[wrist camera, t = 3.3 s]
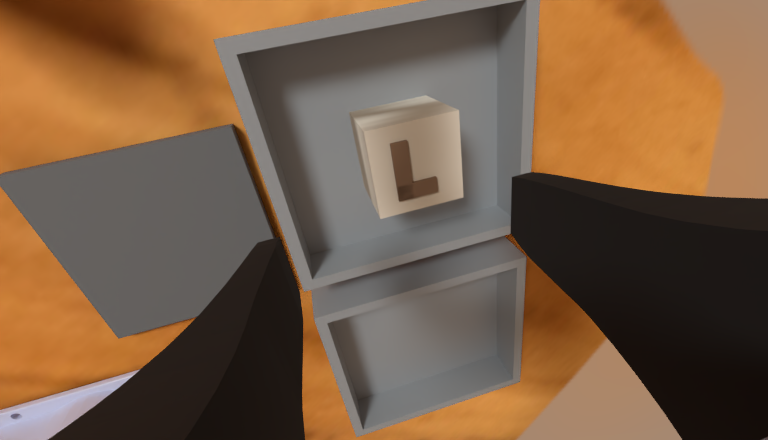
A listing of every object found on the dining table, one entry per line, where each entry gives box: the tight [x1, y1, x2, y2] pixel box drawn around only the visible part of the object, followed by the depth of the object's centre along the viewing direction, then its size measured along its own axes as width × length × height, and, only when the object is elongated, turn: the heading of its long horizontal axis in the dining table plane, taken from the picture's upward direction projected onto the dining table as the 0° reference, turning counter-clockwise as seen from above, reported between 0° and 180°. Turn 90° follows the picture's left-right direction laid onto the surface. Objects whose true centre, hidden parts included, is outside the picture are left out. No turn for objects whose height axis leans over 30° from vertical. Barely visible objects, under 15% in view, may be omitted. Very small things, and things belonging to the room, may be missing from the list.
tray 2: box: [312, 236, 527, 437], centre depth 25 cm, size 13×12×3 cm
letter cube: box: [349, 95, 464, 219], centre depth 17 cm, size 4×4×4 cm
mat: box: [0, 124, 276, 338], centre depth 18 cm, size 10×10×1 cm
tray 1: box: [213, 0, 540, 292], centre depth 18 cm, size 13×12×3 cm
